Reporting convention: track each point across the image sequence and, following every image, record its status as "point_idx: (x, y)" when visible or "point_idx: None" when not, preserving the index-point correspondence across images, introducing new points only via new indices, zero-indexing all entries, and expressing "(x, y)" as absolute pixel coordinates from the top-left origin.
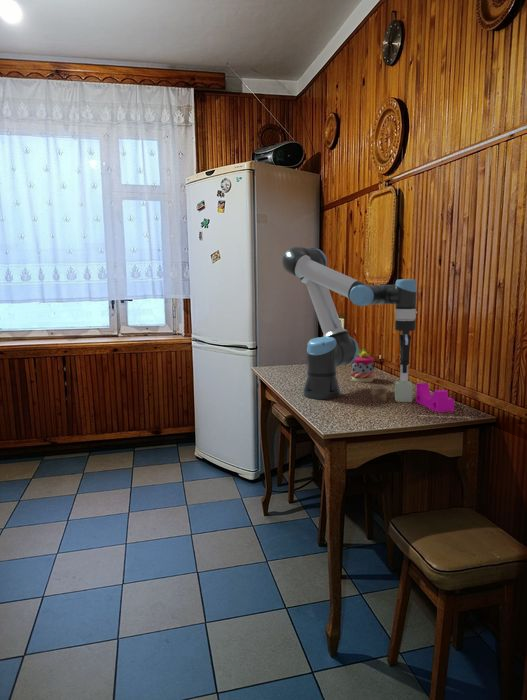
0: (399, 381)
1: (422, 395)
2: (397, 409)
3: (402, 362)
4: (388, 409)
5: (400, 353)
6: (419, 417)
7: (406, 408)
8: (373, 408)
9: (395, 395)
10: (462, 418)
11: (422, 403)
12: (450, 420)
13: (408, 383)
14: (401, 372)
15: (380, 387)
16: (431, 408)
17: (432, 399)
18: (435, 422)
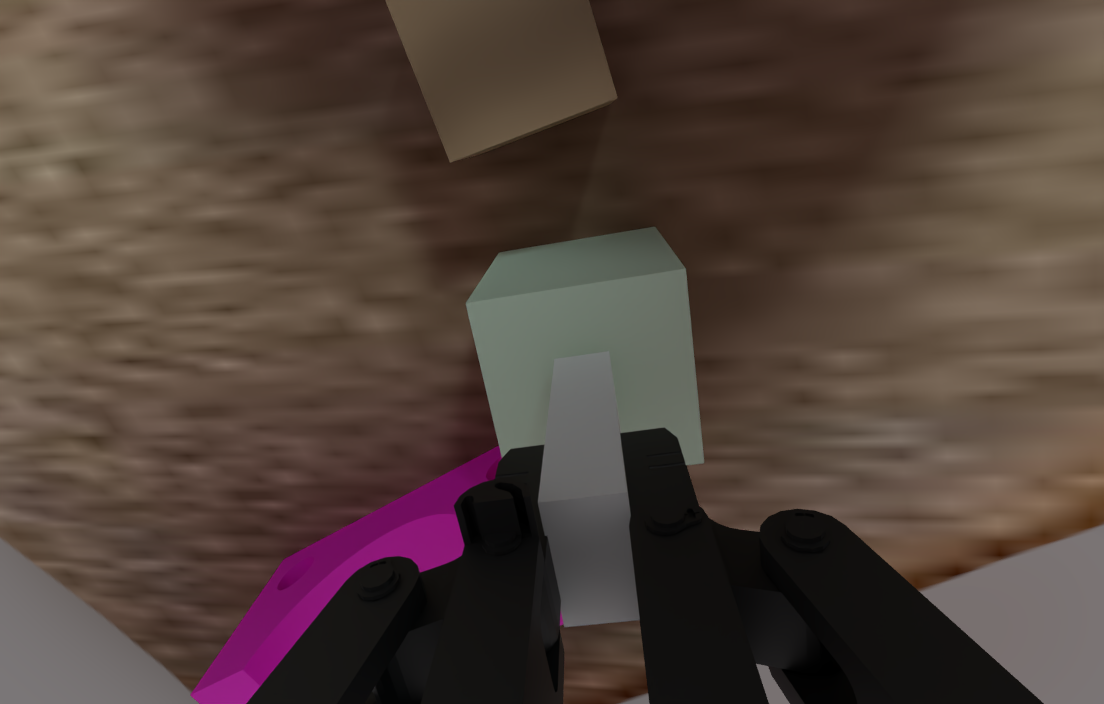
0: (643, 331)
1: (447, 515)
2: (213, 287)
3: (344, 588)
4: (172, 209)
5: (911, 686)
6: (74, 452)
7: (283, 356)
8: (131, 57)
9: (562, 250)
10: (203, 672)
11: (453, 475)
12: (119, 615)
13: (543, 442)
14: (551, 426)
15: (506, 65)
16: (346, 528)
17: (307, 586)
18: (18, 540)
